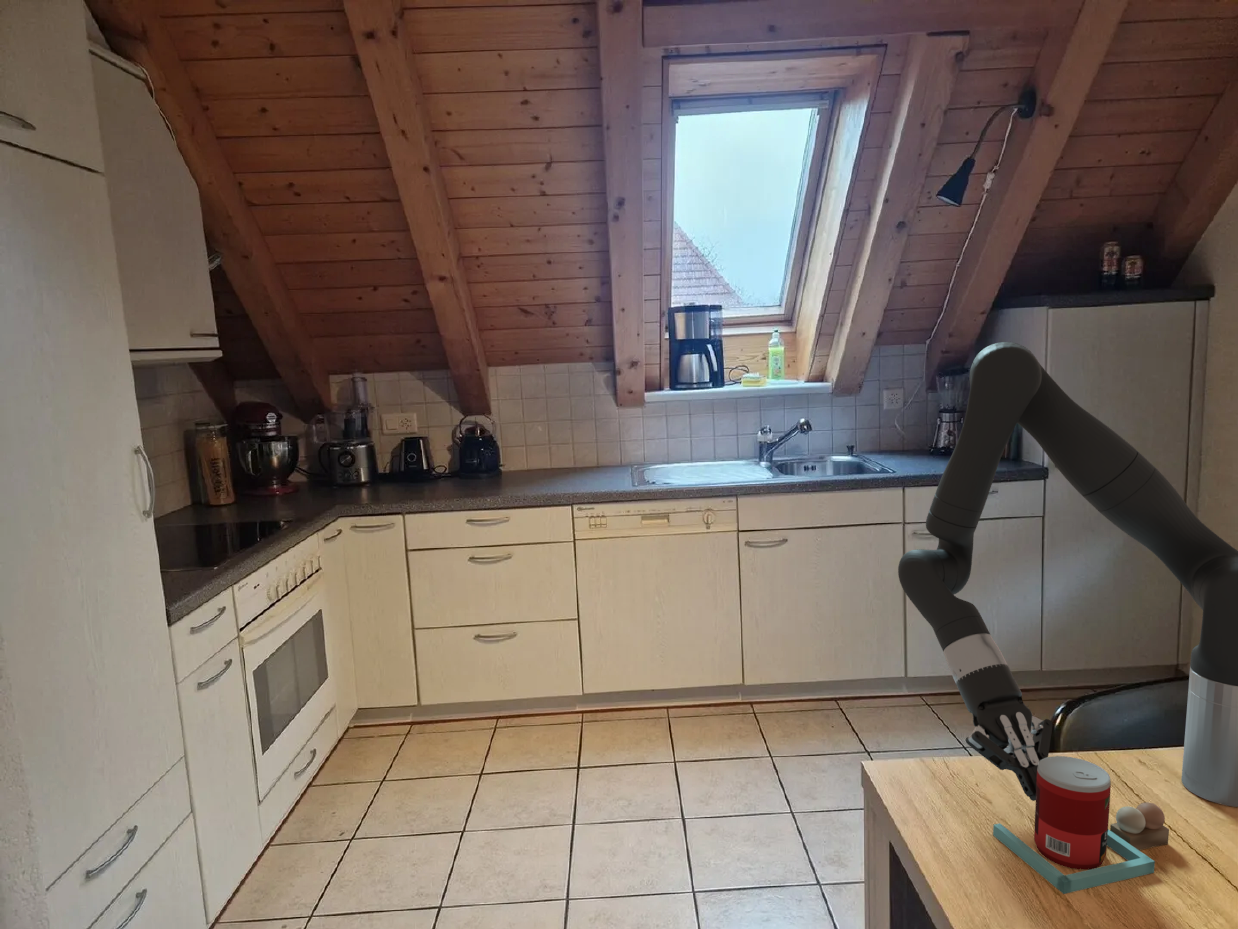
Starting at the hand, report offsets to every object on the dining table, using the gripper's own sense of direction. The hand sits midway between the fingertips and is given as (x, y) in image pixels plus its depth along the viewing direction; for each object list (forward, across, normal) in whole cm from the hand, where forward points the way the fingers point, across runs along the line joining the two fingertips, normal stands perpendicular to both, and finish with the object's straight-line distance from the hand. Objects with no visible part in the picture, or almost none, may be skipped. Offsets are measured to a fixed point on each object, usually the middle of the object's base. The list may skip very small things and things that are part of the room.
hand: (1040, 798), depth 108 cm
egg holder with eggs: (+7, +10, -1) cm, 12 cm away
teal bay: (+6, 0, 0) cm, 7 cm away
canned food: (+7, 0, 0) cm, 7 cm away
